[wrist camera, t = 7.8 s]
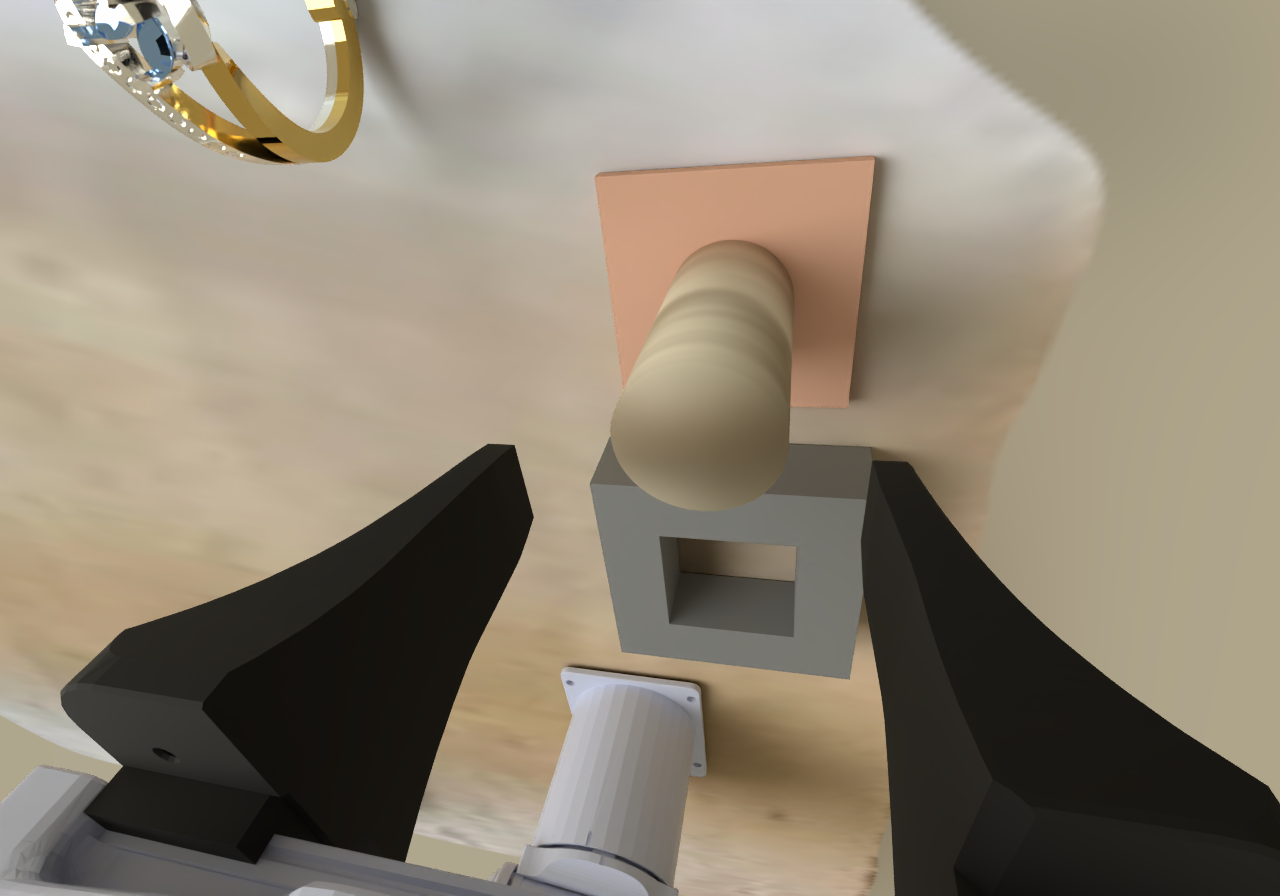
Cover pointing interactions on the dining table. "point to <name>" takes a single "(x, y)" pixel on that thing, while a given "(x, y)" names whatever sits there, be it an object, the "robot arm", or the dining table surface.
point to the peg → (712, 383)
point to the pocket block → (733, 606)
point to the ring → (220, 76)
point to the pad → (758, 213)
